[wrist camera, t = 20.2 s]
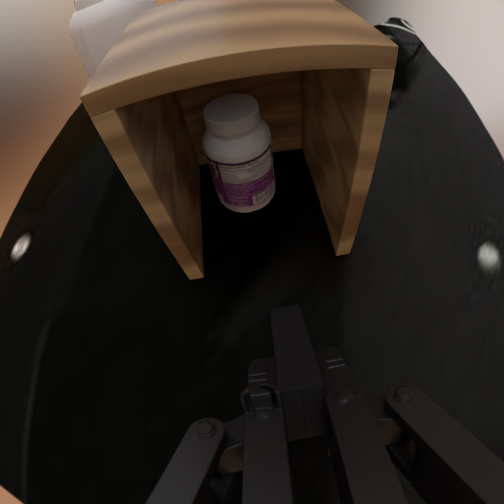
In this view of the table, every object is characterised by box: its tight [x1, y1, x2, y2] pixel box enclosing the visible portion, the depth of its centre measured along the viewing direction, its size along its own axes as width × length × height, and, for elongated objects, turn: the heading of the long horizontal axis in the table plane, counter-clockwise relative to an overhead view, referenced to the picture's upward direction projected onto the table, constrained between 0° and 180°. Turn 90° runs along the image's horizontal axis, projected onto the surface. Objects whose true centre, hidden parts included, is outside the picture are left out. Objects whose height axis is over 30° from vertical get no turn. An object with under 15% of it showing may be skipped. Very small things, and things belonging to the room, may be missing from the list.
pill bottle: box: [202, 93, 275, 213], centre depth 24 cm, size 5×5×10 cm
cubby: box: [80, 0, 398, 280], centre depth 20 cm, size 14×13×17 cm
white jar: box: [69, 0, 157, 79], centre depth 33 cm, size 12×12×20 cm
